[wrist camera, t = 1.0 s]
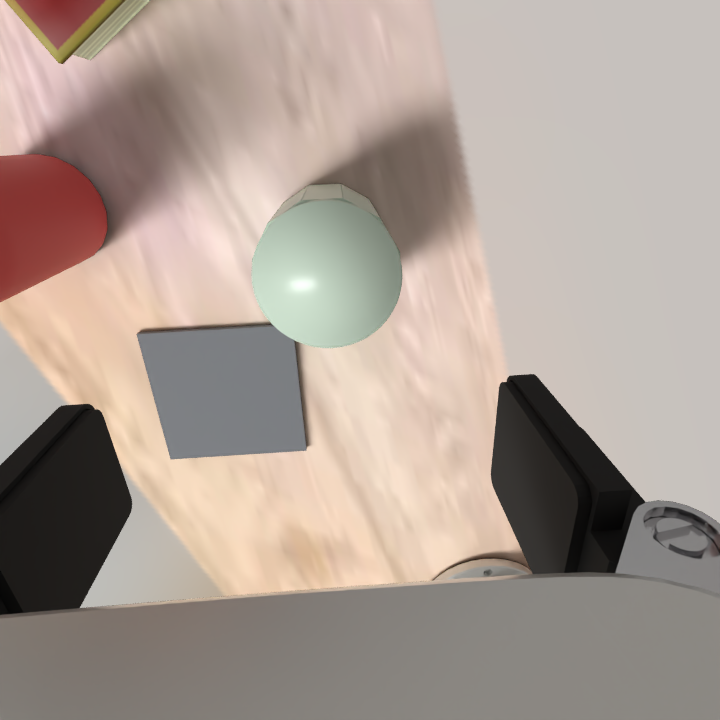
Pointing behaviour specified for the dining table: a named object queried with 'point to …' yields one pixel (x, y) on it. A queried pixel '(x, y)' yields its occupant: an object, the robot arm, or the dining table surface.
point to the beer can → (45, 220)
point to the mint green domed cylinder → (327, 268)
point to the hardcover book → (75, 23)
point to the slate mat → (225, 390)
